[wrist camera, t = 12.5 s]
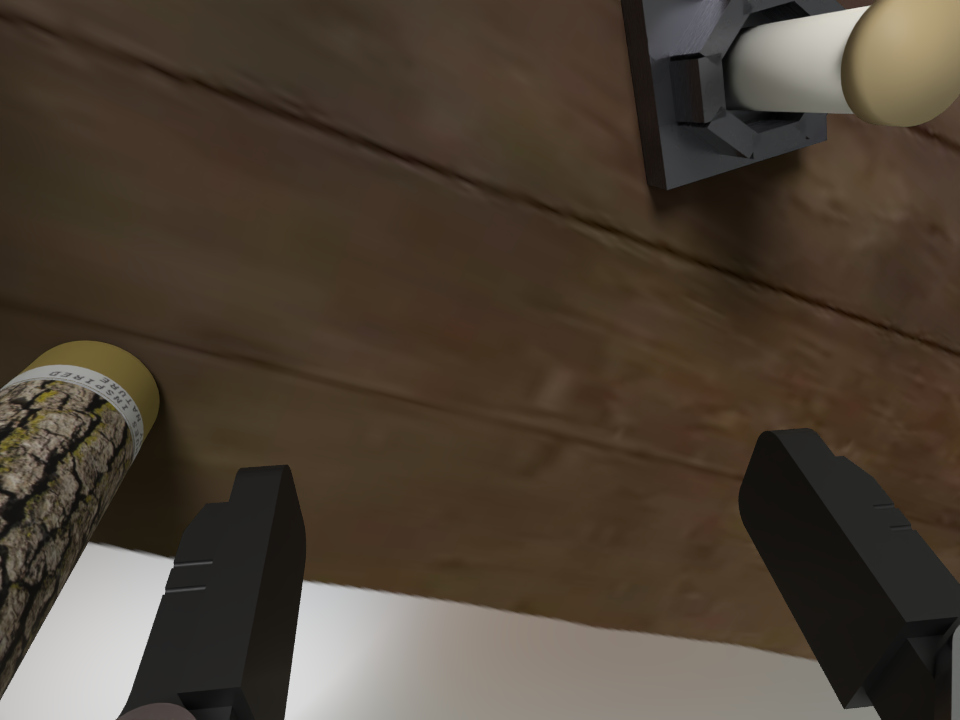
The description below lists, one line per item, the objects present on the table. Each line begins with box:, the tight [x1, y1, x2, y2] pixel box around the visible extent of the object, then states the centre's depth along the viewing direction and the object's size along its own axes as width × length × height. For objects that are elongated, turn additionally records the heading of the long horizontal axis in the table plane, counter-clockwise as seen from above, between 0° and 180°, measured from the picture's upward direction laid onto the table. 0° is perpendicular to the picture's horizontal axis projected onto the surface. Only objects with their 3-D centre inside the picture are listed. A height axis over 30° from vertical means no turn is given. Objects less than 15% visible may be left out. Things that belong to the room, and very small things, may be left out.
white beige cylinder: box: [722, 0, 960, 127], centre depth 29 cm, size 5×5×12 cm
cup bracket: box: [621, 0, 845, 190], centre depth 34 cm, size 10×10×6 cm
